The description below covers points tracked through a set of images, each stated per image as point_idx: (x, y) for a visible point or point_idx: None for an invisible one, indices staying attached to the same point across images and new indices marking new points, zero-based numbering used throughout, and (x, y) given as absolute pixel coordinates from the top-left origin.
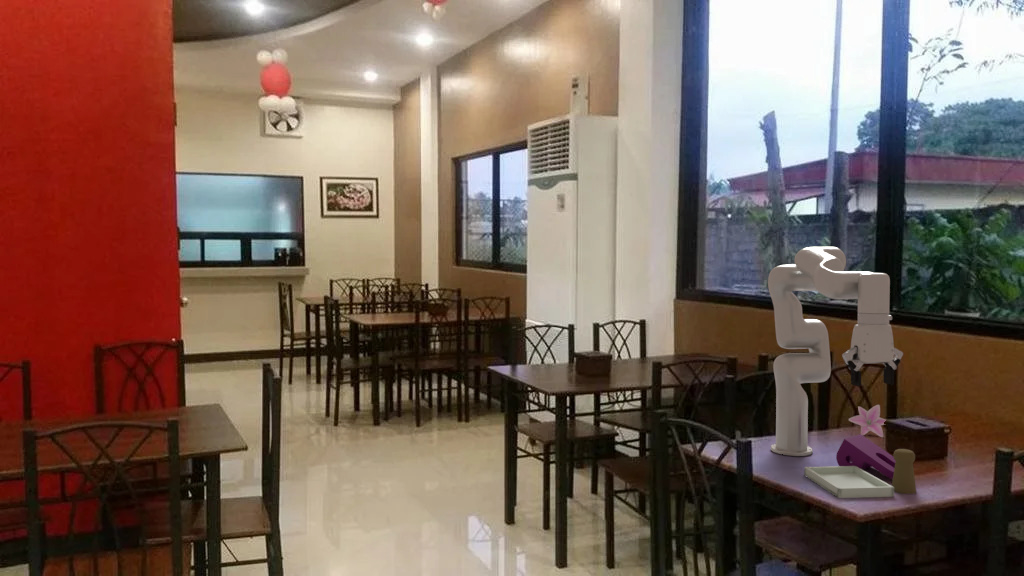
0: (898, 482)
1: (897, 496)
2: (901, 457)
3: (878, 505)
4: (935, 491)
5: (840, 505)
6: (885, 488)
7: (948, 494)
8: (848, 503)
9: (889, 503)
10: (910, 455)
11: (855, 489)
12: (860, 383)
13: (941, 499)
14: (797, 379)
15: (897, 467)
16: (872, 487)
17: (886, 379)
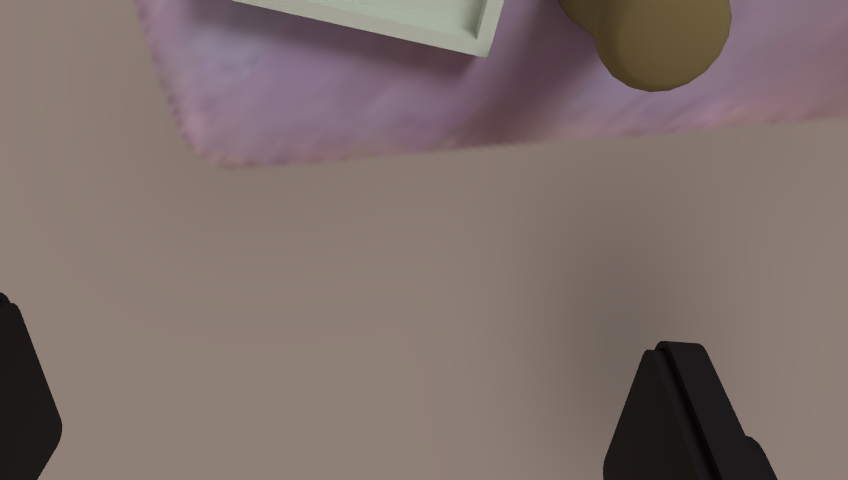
0: (569, 3)
1: (504, 43)
2: (602, 60)
3: (333, 115)
4: (738, 35)
5: (173, 69)
6: (443, 46)
7: (745, 88)
8: (221, 57)
9: (396, 108)
10: (647, 90)
11: (290, 12)
12: (31, 468)
13: (648, 131)
14: None
15: (592, 8)
16: (380, 30)
17: (646, 452)
